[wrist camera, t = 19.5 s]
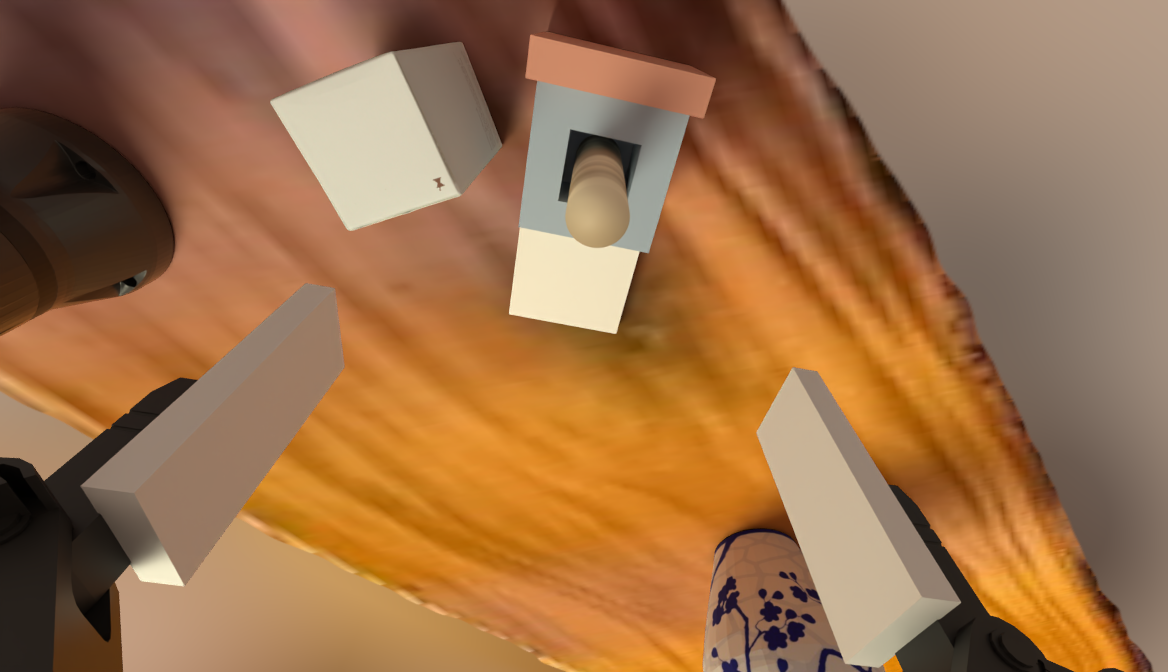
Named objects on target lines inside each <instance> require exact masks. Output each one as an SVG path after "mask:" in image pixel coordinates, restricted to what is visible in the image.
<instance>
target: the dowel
mask: <svg viewBox="0 0 1168 672" xmlns="http://www.w3.org/2000/svg"><path fill="white" fill-rule="evenodd" d="M565 220H566V225H567V228H568V230H569V232H570V234H571V235H572V236H573V238H574V239H575V240H576V241H578V242H579V243H581V244H583V245H585V246H587V247H592V248H603V247H607V246H610V245H612V244H614V243H616V242H617V241H618V240H620V239H621V238H622V236H623V235H624V234H625V232H626V230H627V228H628V226H629V221H630V211H629V205H628V198H627V192H626V185H625V179H624V172H623V165H622V159H621V153H620V149H619V147H618V145H617V143H616V142H615V141H614V140H613V139H612V138H607V137H603V136H598V135H591V136H589V137H587V138H585V139H584V140H583V141H582V142H581V143H580V145H579V147H578V149H577V152H576V157H575V162H574V168H573V174H572V179H571V185H570V190H569V196H568V202H567V207H566V214H565Z"/></svg>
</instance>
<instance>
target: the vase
mask: <svg viewBox="0 0 1168 672" xmlns="http://www.w3.org/2000/svg"><path fill="white" fill-rule="evenodd" d="M703 672H885V670H884V667H883V665H882V666H880V667H879V668H877V667H869V666H860V665H852V664H845V663H844V660H843V657H842V655H841V652H840V650H839V647H838V644H837V642H836V639H835V637H834V634H833V631H832V629H831V626H830V623H829V621H828V618H827V616H826V613H825V610H824V608H823V605H822V603H821V600H820V597H819V595H818V592H817V590H816V587H815V584H814V582H813V579H812V577H811V574H810V571H809V569H808V566H807V564H806V561H805V558H804V556H803V553H802V551H801V550H800V549H799V547H798V546H797V545H796V543H795V542H794V541H793V539H792V538H791V537H789V536H788V535H786V534H784V533H782V532H780V531H776V530H770V529H752V530H746V531H742V532H739V533H736V534H733V535H731V536H729V537H727V538H726V539H724V540H723V541H722V542H721V543H720V544H719V545H718V546H717V548H716V550H715V555H714V565H713V573H712V581H711V588H710V596H709V604H708V612H707V621H706V629H705V642H704V655H703Z"/></svg>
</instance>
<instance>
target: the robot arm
mask: <svg viewBox="0 0 1168 672" xmlns="http://www.w3.org/2000/svg"><path fill="white" fill-rule="evenodd" d="M173 248H174V242H173V234H172V230H171V226H170V223H169V220H168V217H167V215H166V212H165V210H164V208H163V206H162V204H161V203H160V201H159V199H158V198H157V196H156V194H155V193H154V191H153V190H152V189H151V187H150V186H149V185H148V183H147V182H146V181H145V179H144V178H143V177H142V176H141V175H140V174H139V173H138V171H137V170H136V169H135V168H134V167H133V166H132V165H131V164H130V163H129V162H128V161H127V160H126V159H125V158H123V157H122V156H121V155H120V154H119V153H118V152H117V151H115V150H114V149H113V148H112V147H110V146H109V145H108V144H106V143H105V142H104V141H102V140H101V139H99V138H98V137H96V136H95V135H93V134H92V133H90V132H88V131H87V130H85V129H83V128H81V127H79V126H78V125H76V124H74V123H72V122H69V121H67V120H65V119H63V118H60V117H57V116H55V115H52V114H49V113H46V112H42V111H38V110H33V109H27V108H2V109H0V336H2V335H4V334H5V333H7V332H9V331H11V330H13V329H15V328H17V327H19V326H21V325H22V324H24V323H26V322H28V321H29V320H31V319H33V318H35V317H37V316H39V315H41V314H43V313H45V312H47V311H49V310H52V309H57V308H62V307H67V306H72V305H77V304H82V303H87V302H92V301H98V300H103V299H108V298H113V297H118V296H123V295H126V294H129V293H132V292H134V291H136V290H138V289H140V288H142V287H143V286H145V285H147V284H149V283H150V282H152V281H154V280H156V279H157V278H159V277H160V276H161V275H162V274H163V273H164V272H165V271H166V269H167V268H168V266H169V264H170V262H171V259H172V255H173ZM343 369H344V358H343V350H342V342H341V334H340V326H339V317H338V309H337V301H336V293H335V288H331V287H325V286H319V285H313V284H307V283H305V284H304V285H303V286H302V287H301V288H300V289H299V290H298V291H297V292H295V293H294V294H293V295H292V296H291V297H290V298H289V299H288V300H287V301H285V302H284V303H283V304H282V305H281V306H280V307H279V308H278V309H277V310H275V311H274V312H273V313H272V314H271V315H270V316H269V317H268V318H267V319H265V320H264V321H263V322H262V323H261V324H260V325H259V326H258V327H257V328H255V329H254V330H253V331H252V332H251V333H250V334H249V335H248V336H247V337H245V338H244V339H243V340H242V341H241V342H240V343H239V344H238V345H237V346H235V347H234V348H233V349H232V350H231V351H230V352H229V353H228V354H227V355H225V356H224V357H223V358H222V359H221V360H220V361H219V362H218V363H217V364H215V365H214V366H213V367H212V368H211V369H210V370H209V371H208V372H207V373H205V374H204V375H203V376H202V377H201V378H200V379H199V380H193V379H187V378H178V379H176V380H174V381H172V382H170V383H168V384H166V385H164V386H162V387H160V388H158V389H156V390H154V391H152V392H151V393H149V394H148V395H147V396H146V397H145V398H143V399H142V400H141V401H140V402H139V403H137V404H136V405H135V406H134V407H133V408H131V409H130V412H129V414H126V413H125V414H124V415H123V416H122V417H121V418H119V419H118V420H117V421H116V422H115V423H113V424H112V427H111V429H106V430H105V431H104V432H103V433H101V434H100V435H99V436H98V437H97V438H95V439H94V440H93V441H92V442H91V443H89V444H88V445H87V446H86V447H85V448H83V449H82V450H81V451H80V452H79V453H77V454H76V455H75V456H74V457H73V458H71V459H70V460H69V461H68V462H66V463H65V464H64V465H63V466H62V467H61V468H59V469H58V470H57V471H56V472H54V473H53V474H52V475H51V476H50V477H48V479H46V480H45V481H43V480H42V478H41V476H40V475H39V474H38V472H37V471H36V469H35V468H34V466H33V465H32V464H30V463H28V462H26V461H24V460H21V459H20V458H2V457H0V672H123V664H122V644H121V625H120V605H119V591H118V589H117V587H116V584H115V581H116V580H117V579H118V577H119V576H120V575H121V574H122V573H123V572H124V570H125V569H126V568H127V567H128V566H129V565H131V566H132V568H133V569H134V571H135V572H136V574H137V575H138V577H139V579H140V580H141V581H145V582H153V583H162V584H170V585H179V586H185V585H186V584H187V582H188V581H189V580H190V578H191V577H192V576H193V574H194V573H195V571H196V570H197V569H198V567H199V566H200V565H201V563H202V562H203V561H204V559H205V557H206V556H207V555H208V554H209V552H210V551H211V550H212V548H213V547H214V545H215V544H216V543H217V541H218V540H219V539H220V537H221V536H222V535H223V533H224V532H225V530H226V529H227V528H228V526H229V525H230V524H231V522H232V521H233V519H234V518H235V517H236V515H237V514H238V513H239V511H240V510H241V508H242V507H243V506H244V504H245V503H246V502H247V500H248V499H249V498H250V496H251V495H252V493H253V492H254V491H255V489H256V488H257V487H258V485H259V484H260V482H261V481H262V480H263V478H264V477H265V476H266V474H267V473H268V471H269V470H270V469H271V467H272V466H273V465H274V463H275V462H276V461H277V459H278V458H279V456H280V455H281V454H282V452H283V451H284V450H285V448H286V447H287V445H288V444H289V443H290V441H291V440H292V439H293V437H294V436H295V434H296V433H297V432H298V430H299V429H300V428H301V426H302V425H303V424H304V422H305V421H306V419H307V418H308V417H309V415H310V414H311V413H312V411H313V410H314V408H315V407H316V406H317V404H318V403H319V402H320V400H321V399H322V397H323V396H324V395H325V393H326V392H327V391H328V389H329V388H330V387H331V385H332V384H333V382H334V381H335V380H336V378H337V377H338V376H339V374H340V373H341V371H342V370H343ZM756 433H757V436H758V439H759V441H760V444H761V446H762V449H763V452H764V454H765V457H766V459H767V462H768V465H769V467H770V470H771V472H772V475H773V478H774V480H775V483H776V485H777V488H778V491H779V493H780V496H781V498H782V501H783V504H784V506H785V509H786V511H787V514H788V517H789V519H790V522H791V524H792V527H793V530H794V532H795V535H796V538H797V540H798V543H799V545H800V548H801V551H802V553H803V556H804V558H805V561H806V564H807V566H808V569H809V571H810V574H811V577H812V579H813V582H814V584H815V587H816V590H817V592H818V595H819V597H820V600H821V603H822V605H823V608H824V610H825V613H826V616H827V618H828V621H829V623H830V626H831V629H832V631H833V634H834V637H835V639H836V642H837V644H838V647H839V650H840V652H841V655H842V657H843V660H844V663H845V664H852V665H860V666H869V667H877V668H879V667H880V666H882V665H883V664H884V663H885V662H887V661H888V660H889V659H891V658H892V657H893V656H894V655H896V657H897V659H898V661H899V663H900V665H901V667H902V669H903V672H1074V671H1071V670H1069V669H1067V668H1065V667H1062V666H1060V665H1058V664H1056V663H1053V662H1051V661H1049V660H1047V659H1046V658H1045V656H1044V654H1043V653H1042V652H1041V651H1040V650H1039V649H1038V648H1037V646H1036V645H1035V644H1034V643H1033V642H1032V641H1031V640H1030V639H1029V638H1028V637H1027V636H1026V635H1024V634H1023V633H1022V632H1021V631H1019V630H1018V629H1017V628H1016V627H1014V626H1013V625H1011V624H1009V623H1007V622H1005V621H1004V620H1002V619H1000V618H998V617H994V616H990V615H989V613H988V612H987V611H986V609H985V608H984V606H983V605H982V603H981V602H980V600H979V599H978V597H977V596H976V594H975V593H974V591H973V590H972V588H971V587H970V585H969V583H968V582H967V580H966V579H965V577H964V576H963V574H962V573H961V571H960V570H959V568H958V567H957V565H956V564H955V562H954V561H953V559H952V558H951V556H950V555H949V553H948V552H947V550H946V549H945V547H942V546H941V543H942V542H941V541H940V539H939V538H938V536H937V535H936V533H935V532H934V530H932V529H930V524H929V523H928V521H927V520H926V518H925V517H924V515H923V514H922V512H921V511H920V509H919V507H918V506H917V505H916V504H915V503H914V502H913V501H912V500H911V499H910V498H909V497H908V496H907V495H906V494H905V493H904V492H903V491H902V490H901V489H900V488H899V487H898V486H895V485H888V484H887V482H886V481H885V479H884V478H883V476H882V474H881V473H880V471H879V470H878V468H877V466H876V465H875V463H874V462H873V460H872V458H871V457H870V455H869V454H868V452H867V450H866V449H865V447H864V446H863V444H862V442H861V441H860V439H859V438H858V436H857V434H856V433H855V431H854V430H853V428H852V426H851V425H850V423H849V422H848V420H847V418H846V417H845V415H844V414H843V412H842V410H841V409H840V407H839V406H838V404H837V402H836V401H835V399H834V398H833V396H832V394H831V393H830V391H829V390H828V388H827V386H826V385H825V383H824V382H823V380H822V378H821V377H820V375H819V374H818V372H817V371H811V370H805V369H800V368H794V367H793V368H792V370H791V371H790V373H789V375H788V377H787V379H786V380H785V382H784V384H783V386H782V388H781V389H780V391H779V393H778V395H777V397H776V398H775V400H774V402H773V404H772V405H771V407H770V409H769V411H768V413H767V414H766V416H765V418H764V420H763V422H762V423H761V425H760V427H759V429H758V431H757V432H756ZM1098 672H1124V671H1121V670H1118V669H1116V668H1106V669H1102V670H1100V671H1098Z"/></svg>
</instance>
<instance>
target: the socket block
mask: <svg viewBox="0 0 1168 672" xmlns="http://www.w3.org/2000/svg"><path fill="white" fill-rule="evenodd" d="M689 116H690V115H685V114H681V113H676V112H672V111H668V110H663V109H659V108H654V107H650V106H646V105H641V104H637V103H633V102H628V101H624V100H619V99H615V98H611V97H606V96H602V95H598V94H593V93H589V92H584V91H580V90H576V89H571V88H567V87H562V86H558V85H554V84H549V83H545V82H541V81H537V87H536V95H535V102H534V110H533V118H532V126H531V134H530V142H529V150H528V157H527V165H526V173H525V181H524V189H523V197H522V205H521V212H520V220H519V227H521V228H526V229H531V230H536V231H541V232H546V233H551V234H556V235H560V236H565V237H570V238H573V236H572V235H571V234H570V232H569V230H568V228H567V225H566V220H565V214H566V207H567V202H568V196H569V190H570V185H571V179H572V174H573V168H574V162H575V157H576V152H577V149H578V147H579V145H580V143H581V142H582V141H583V140H584V139H585V138H587V137H589V136H591V135H598V136H603V137H607V138H612V139H613V140H614V141H615V142H616V143H617V145H618V147H619V149H620V153H621V159H622V165H623V172H624V179H625V185H626V192H627V198H628V205H629V211H630V221H629V226H628V228H627V230H626V232H625V234H624V235H623V236H622V238H621V239H620V240H618V241H617V242H616V243H614V244H612V245H610V246H615V247H620V248H625V249H630V250H635V251H640V252H645V253H649V250H650V247H651V243H652V240H653V237H654V233H655V230H656V227H657V223H658V220H659V217H660V213H661V210H662V206H663V203H664V200H665V196H666V193H667V190H668V186H669V183H670V180H671V176H672V173H673V170H674V166H675V163H676V160H677V156H678V153H679V150H680V146H681V143H682V140H683V136H684V133H685V130H686V126H687V123H688V120H689Z"/></svg>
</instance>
